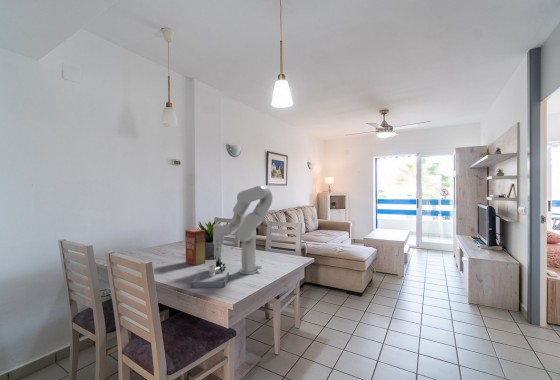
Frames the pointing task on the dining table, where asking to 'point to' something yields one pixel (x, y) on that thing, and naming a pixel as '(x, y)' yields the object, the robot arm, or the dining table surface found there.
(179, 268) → the dining table surface
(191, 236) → the food packaging
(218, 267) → the valve
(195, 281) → the tray frame
